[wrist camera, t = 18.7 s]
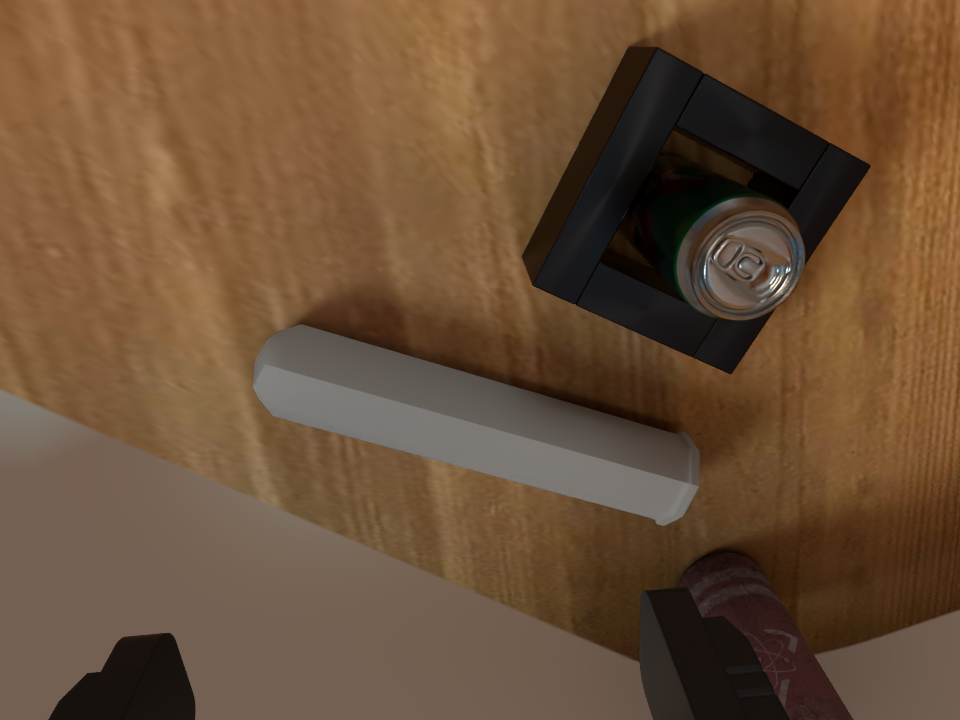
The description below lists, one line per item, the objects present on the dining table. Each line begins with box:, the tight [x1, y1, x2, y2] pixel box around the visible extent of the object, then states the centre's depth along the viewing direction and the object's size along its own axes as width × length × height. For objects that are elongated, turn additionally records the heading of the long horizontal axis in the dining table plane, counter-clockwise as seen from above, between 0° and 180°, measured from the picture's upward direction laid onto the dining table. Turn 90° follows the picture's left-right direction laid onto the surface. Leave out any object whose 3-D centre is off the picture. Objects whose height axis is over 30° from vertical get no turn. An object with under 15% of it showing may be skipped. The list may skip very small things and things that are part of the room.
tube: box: [253, 324, 700, 526], centre depth 40 cm, size 5×5×25 cm
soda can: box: [618, 155, 805, 320], centre depth 32 cm, size 5×5×12 cm
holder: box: [522, 47, 871, 374], centre depth 35 cm, size 12×12×5 cm
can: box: [678, 553, 853, 720], centre depth 42 cm, size 6×6×14 cm
